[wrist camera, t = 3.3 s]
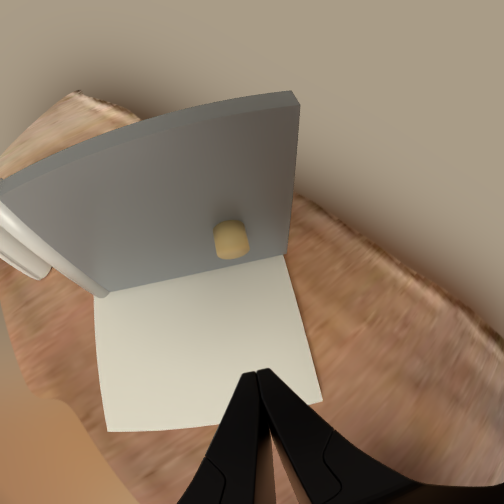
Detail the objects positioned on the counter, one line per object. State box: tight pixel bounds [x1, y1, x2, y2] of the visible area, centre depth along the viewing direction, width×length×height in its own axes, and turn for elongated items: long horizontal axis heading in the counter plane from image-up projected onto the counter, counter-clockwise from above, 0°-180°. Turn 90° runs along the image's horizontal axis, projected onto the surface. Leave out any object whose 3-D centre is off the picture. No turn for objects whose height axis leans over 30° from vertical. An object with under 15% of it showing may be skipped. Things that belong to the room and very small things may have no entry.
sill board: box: [94, 255, 323, 432], centre depth 22 cm, size 14×17×1 cm
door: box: [0, 91, 300, 298], centre depth 17 cm, size 3×17×14 cm, turn 102°
